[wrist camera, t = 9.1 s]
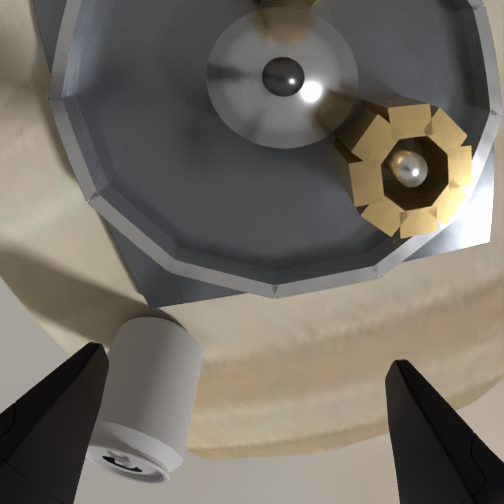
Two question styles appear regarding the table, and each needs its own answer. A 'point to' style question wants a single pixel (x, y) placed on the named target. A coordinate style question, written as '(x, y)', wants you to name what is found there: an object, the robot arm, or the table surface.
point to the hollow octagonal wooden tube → (286, 3)
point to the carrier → (251, 154)
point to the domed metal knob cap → (282, 77)
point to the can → (146, 401)
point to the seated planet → (394, 192)
